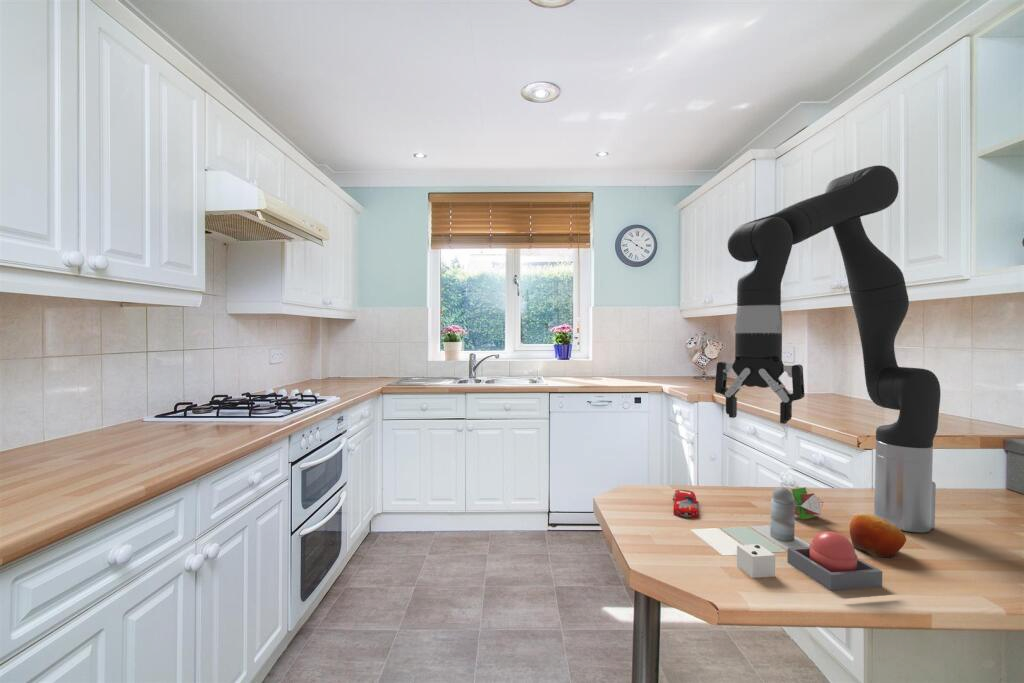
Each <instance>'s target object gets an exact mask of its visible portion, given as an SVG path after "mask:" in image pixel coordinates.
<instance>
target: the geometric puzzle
mask: <svg viewBox="0 0 1024 683" xmlns="http://www.w3.org/2000/svg"><path fill="white" fill-rule="evenodd" d="M790 491H791V492H792V494H793V496H794V502H795V515H798V516H799V519H800V520H805V519H806V520H805V521H807V519H809V520H811V519H813V518H815V517H816V519H817V518H819V516H820V515H822V513H821V507H823V506H824V505H823V503H824V501H821V499H820V498H819V497H817V495H816V494H815V493H813V492H811V490H809V489H807V487H806V486H805V487H800V488H791V489H790ZM809 492H811V493H809ZM819 500H820V502H819ZM821 503H822V504H821Z"/></svg>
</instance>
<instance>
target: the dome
mask: <svg viewBox="0 0 1024 683" xmlns="http://www.w3.org/2000/svg"><path fill="white" fill-rule="evenodd" d="M809 544H810V543H809ZM857 558H858V555H857V554H856V549H854V547H853V544H852V543H851V541H849V539H848V538H846V537H845V536H843V534H841V533H838V532H835V531H822V532H820V533H819V532H818V533H817V534H816V535H815V536H814V537H813V539H812V540H811V544H810V554H809V559H810V560H812V561H814V562H815V563H817V564H819V565H820V566H822V567H823V568H825V569H827V570H828V571H830V572H844V571H857Z"/></svg>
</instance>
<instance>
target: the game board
mask: <svg viewBox="0 0 1024 683" xmlns="http://www.w3.org/2000/svg"><path fill="white" fill-rule="evenodd" d="M770 528H771V524H769V525H766V524H765V525H752V526H733V527H731V526H730V527H729V526H727V527H719V528H718V527H714V528H710V527H709V528H695V529H693V528H692V529H690V531H691V532H692V533H693V534H695V535H696V536H697V537H699V539H701V540H702V541H703V542H705V543H706V544H707V545H709V546H710V547H711V548H713V549H714V550H715V551H716V552H718V553H719V554H720V555H721V556H723V557H725V556H737V545H751V544H759V545H761V546H762V547H764V548H765V549H767V550H768V551H770V552H771V553H773V554H775V553H786V552H787V553H788V548H797V547H810V543H808V542H806V541H805V540H803V539H801V538H799V537H798V536H796V535H794V541H792V542H784V541H779V540H776V539H774V538H772V537H771V536H770Z"/></svg>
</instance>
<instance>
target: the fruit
mask: <svg viewBox="0 0 1024 683" xmlns="http://www.w3.org/2000/svg"><path fill="white" fill-rule="evenodd" d="M849 535H850V539H851V542H852V543H851V544H852V546H853V547H854V550H859V551H862V552H865V553H867V554H869V555H870V556H871V557H873V558H891V557H894V556H895V555H896V554H897V553H899V551H900V550H901V549H902V548H903V547H904V546H905V543H906V542H907V538H906V534H905V533H904V531H903V530H900V529H899V528H898V527H897V526H896V525H894V524H892V523H890V522H888V521H886V520H884V519H882V518H879V517H877V516H875V515H874V514H871V513H866V514H856V515H854V516H853V517H852V519H851V520H850V524H849Z"/></svg>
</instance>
